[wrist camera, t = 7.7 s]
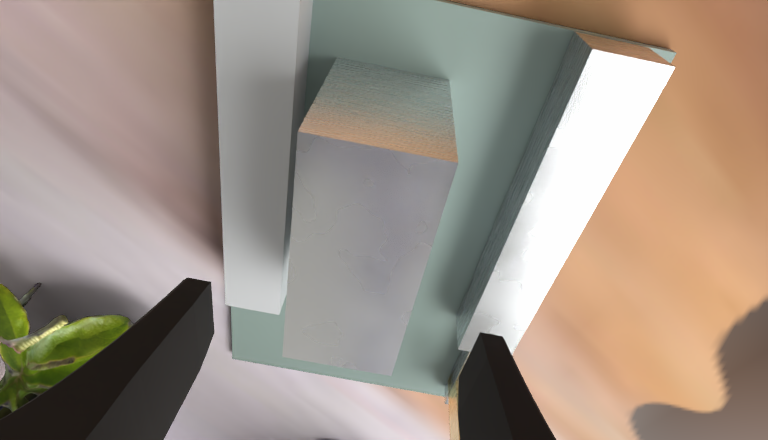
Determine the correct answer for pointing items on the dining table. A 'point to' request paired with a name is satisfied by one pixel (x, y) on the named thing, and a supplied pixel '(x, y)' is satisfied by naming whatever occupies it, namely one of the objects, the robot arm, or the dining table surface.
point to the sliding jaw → (556, 187)
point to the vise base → (289, 108)
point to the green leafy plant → (46, 348)
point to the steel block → (365, 212)
